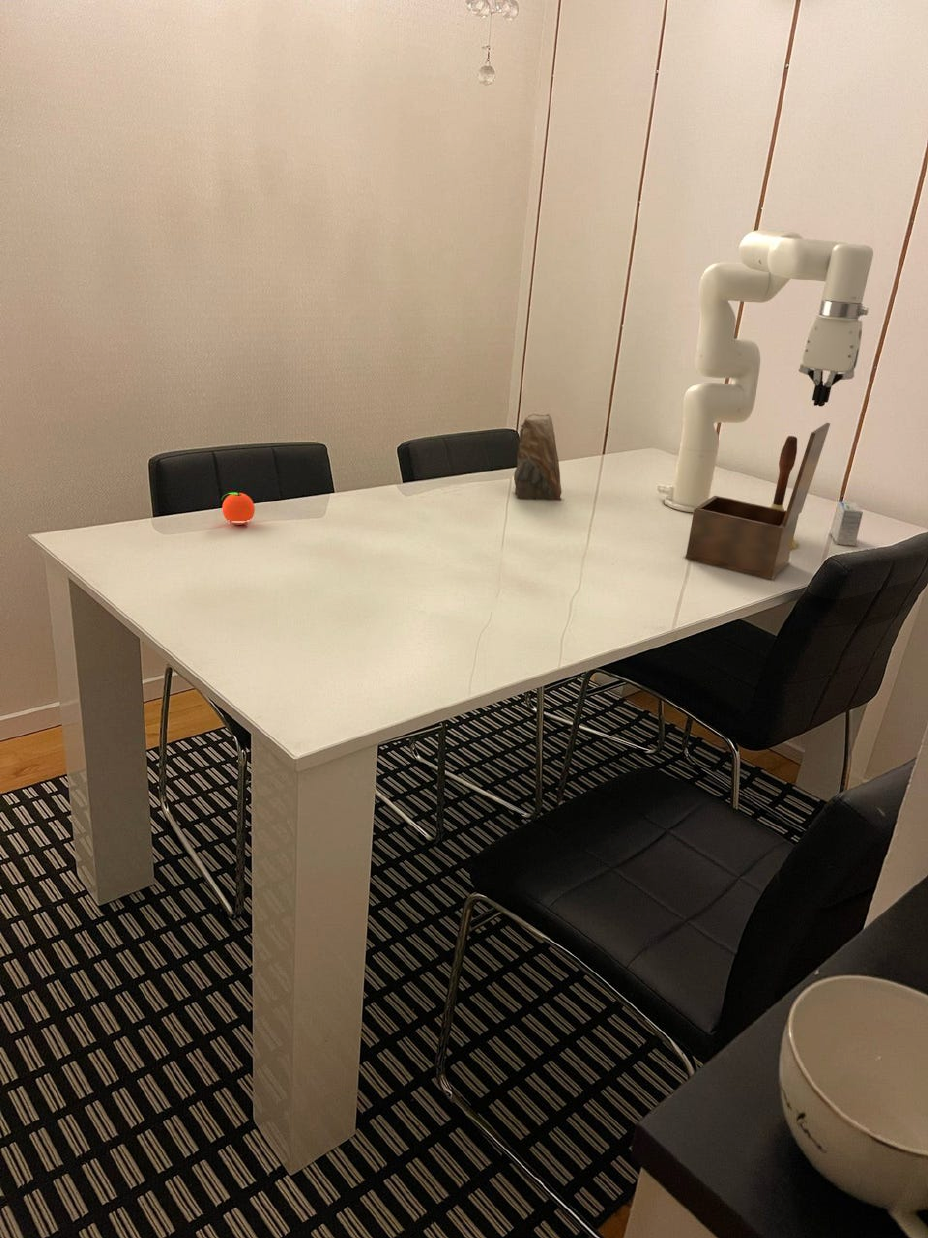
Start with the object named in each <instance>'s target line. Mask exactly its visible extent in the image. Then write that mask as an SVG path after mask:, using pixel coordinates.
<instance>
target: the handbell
mask: <svg viewBox="0 0 928 1238" xmlns="http://www.w3.org/2000/svg"><path fill="white" fill-rule="evenodd" d="M780 452H781V453H780V456H779V461H778V462H779V463H778V466H779V473H778V478H777V483H776V488H775V493H774V498H773V503H772V504H771V506H770V508H775V509H779V510H784V511H785V508H784V500H785V495H786V491H787V487H788V482H789V477H790V475H791V472H792V471H793V468H794V466H795V463H796V458H797V453H798V437H796V436H793V435H788V436H787V437H786V439H785V441H784V444H783V446H782V449H781V451H780ZM796 548H797V541H796V540H795V539H794V538H793V543H792V547H791V550H792V549H793V550H794V549H796Z"/></svg>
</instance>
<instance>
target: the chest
mask: <svg viewBox="0 0 928 1238" xmlns="http://www.w3.org/2000/svg"><path fill="white" fill-rule="evenodd" d="M770 507H771V506H770ZM770 507H769V506H765V505H761V504H755V503H751V502H747V501H741V500H737V499H733V498H728V497H724V496H718V495H713V496H711V497H709V500H707V501H706V502H704V503H703V504H701V505H700V506H698V507H696V508H695V509H694V512H693V515H692V521H691V527H690V533H689V537H688V543H687V549H686V555H685V559H686V560H688V561H689V560H690V561H694V562H697V563H701V564H706V565H709V566H713V567H718V568H721V569H725V570H730V571H733V572H737V573H741V574H745V575H750V576H754V577H757V578H762V579H766V580H770V581H772V580H773V579H774V578H775V577H776V576H777V575H779V573H780V572H781V571H782V570H783V569H784V568H785V567H786V566H787V565H788V563H789V561H790V556H791V552H792V549H791V547H792V543H793V539H794V538H795V533H796V530H797V526H798V525H797V524H798V520H799V516H800V514H799V515H798V516H797V517H795V518H794V519H793V520H792V521H791V522H790V523H789V524H788V525H787V526H786V527H784V526H782V523H783V520H784V517H785V514H786V510H785V509H784V510H779V509H775V508H770Z"/></svg>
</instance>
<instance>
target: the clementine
mask: <svg viewBox="0 0 928 1238" xmlns="http://www.w3.org/2000/svg"><path fill="white" fill-rule="evenodd" d="M227 495H228V496H227ZM225 496H227V497H226V498H225V499H224V501H223V498H224V497H225ZM220 501H223V503H222V507H221V508H222V514H223V516H224V518H225V519H226V520H227V519H228V520H230V521H247V520H250V519H251V520H252V519H253V518H254V516H255V512H256V508H255V503H254V501H253V499H252V498H251V497H250V496H248V495H247V494H245V493H243V492H228V493H225V494H224V495H223V496H222V497H221V499H220ZM228 520H227V521H228ZM251 520H250V521H251ZM230 523H231V524H233V525H237V526H242V525H246V524H247V523H248V522H246V523H232V522H230Z"/></svg>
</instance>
